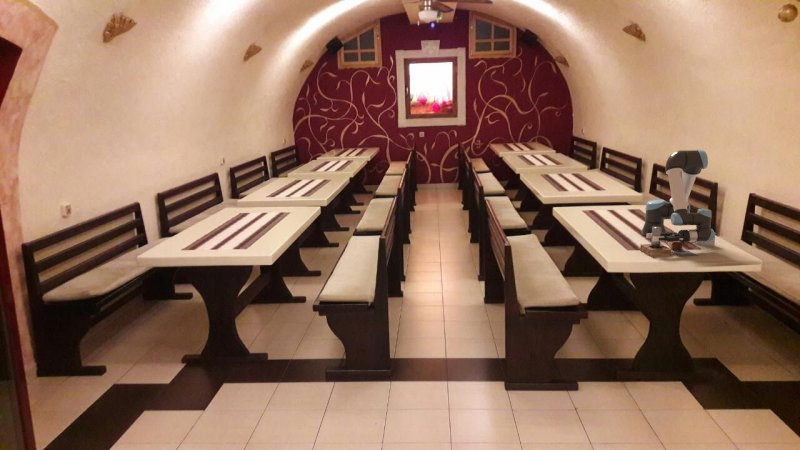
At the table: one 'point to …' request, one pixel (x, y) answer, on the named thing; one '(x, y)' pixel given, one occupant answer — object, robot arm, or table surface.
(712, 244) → the medicine box
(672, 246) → the snack package
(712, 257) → the table surface
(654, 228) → the pin
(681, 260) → the table surface
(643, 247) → the socket block
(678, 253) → the mat
